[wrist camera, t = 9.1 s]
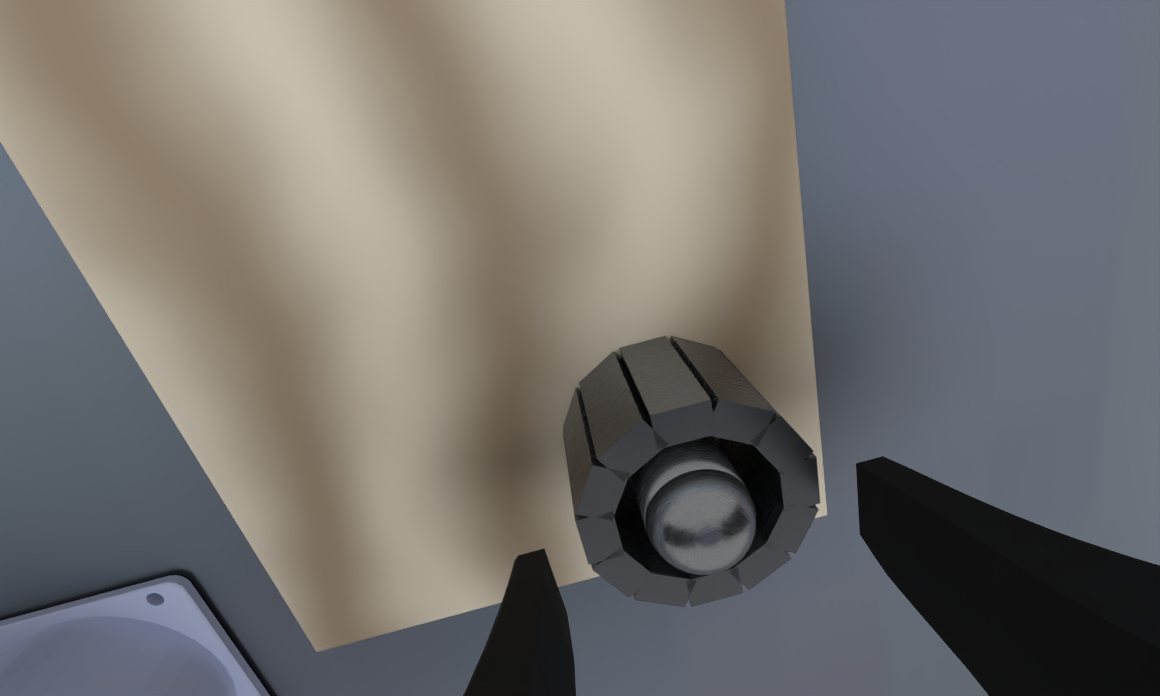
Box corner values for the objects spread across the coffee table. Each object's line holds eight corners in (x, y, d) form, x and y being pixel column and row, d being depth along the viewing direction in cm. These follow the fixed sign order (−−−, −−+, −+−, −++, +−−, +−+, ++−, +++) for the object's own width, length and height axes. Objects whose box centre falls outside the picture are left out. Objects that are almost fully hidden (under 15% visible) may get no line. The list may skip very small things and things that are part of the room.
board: (326, 627, 19) (316, 652, 18) (-57, -17, 12) (-105, -29, 11) (812, 496, 19) (827, 514, 18) (744, -228, 12) (762, -259, 11)
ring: (589, 524, 18) (608, 629, 14) (543, 367, 15) (550, 441, 12) (761, 479, 18) (825, 570, 14) (740, 316, 15) (810, 373, 12)
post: (626, 475, 17) (669, 613, 12) (608, 404, 16) (647, 524, 11) (706, 453, 17) (781, 582, 12) (693, 382, 16) (768, 491, 11)
